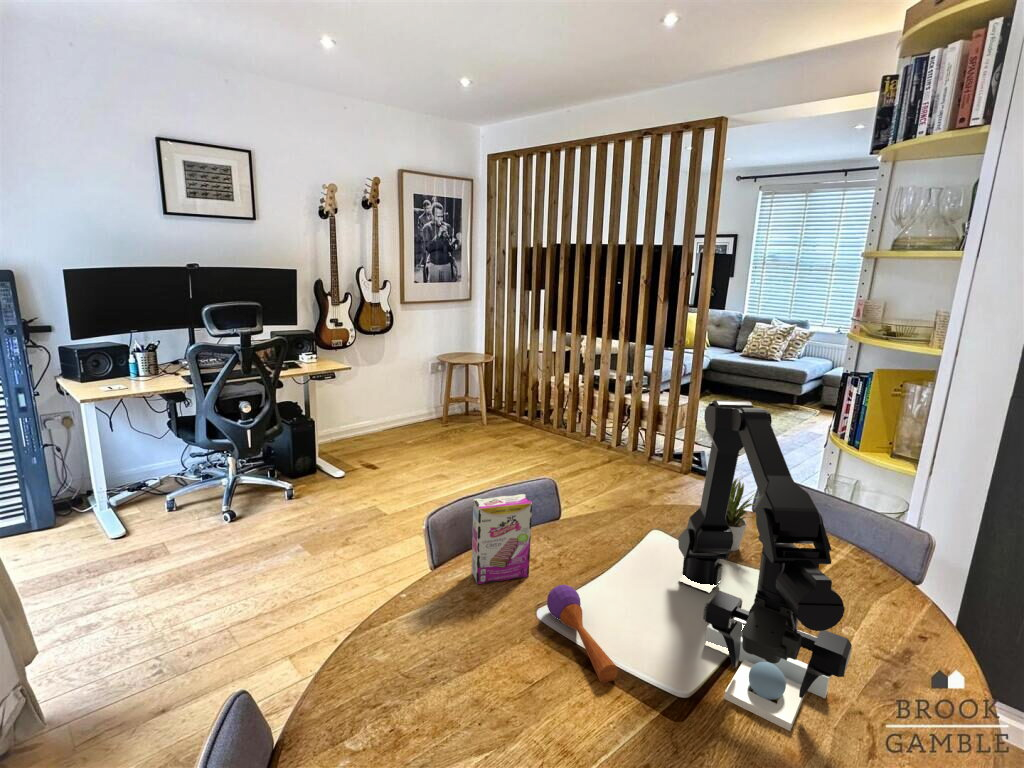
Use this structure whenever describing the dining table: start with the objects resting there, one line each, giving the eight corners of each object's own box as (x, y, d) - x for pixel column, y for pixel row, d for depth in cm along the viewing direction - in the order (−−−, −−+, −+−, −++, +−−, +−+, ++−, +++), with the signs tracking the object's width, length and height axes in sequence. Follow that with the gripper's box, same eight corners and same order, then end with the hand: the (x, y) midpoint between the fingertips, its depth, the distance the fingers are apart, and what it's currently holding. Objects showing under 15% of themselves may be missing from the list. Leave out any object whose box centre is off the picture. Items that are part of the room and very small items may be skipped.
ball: (742, 696, 82) (746, 667, 81) (752, 678, 86) (756, 649, 85) (778, 713, 79) (782, 683, 78) (787, 693, 83) (791, 664, 82)
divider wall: (705, 645, 93) (706, 626, 92) (707, 641, 94) (709, 623, 93) (825, 698, 82) (828, 678, 81) (826, 693, 83) (830, 673, 82)
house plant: (687, 526, 137) (693, 463, 133) (746, 531, 135) (753, 467, 131) (698, 555, 123) (705, 485, 119) (763, 561, 121) (772, 490, 118)
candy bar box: (477, 586, 109) (478, 508, 105) (471, 573, 113) (471, 498, 110) (530, 577, 112) (533, 502, 109) (522, 565, 117) (524, 492, 114)
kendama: (589, 665, 82) (540, 584, 101) (592, 695, 84) (544, 610, 102) (624, 651, 84) (570, 573, 102) (627, 681, 86) (573, 600, 104)
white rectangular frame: (724, 698, 82) (724, 691, 81) (743, 666, 88) (744, 659, 88) (790, 731, 76) (791, 723, 76) (805, 693, 83) (806, 686, 83)
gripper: (694, 584, 78) (684, 680, 81) (845, 642, 67) (827, 751, 70) (721, 554, 87) (711, 642, 90) (859, 601, 75) (843, 700, 78)
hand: (767, 680), depth 82 cm, fingers open, 9 cm apart
